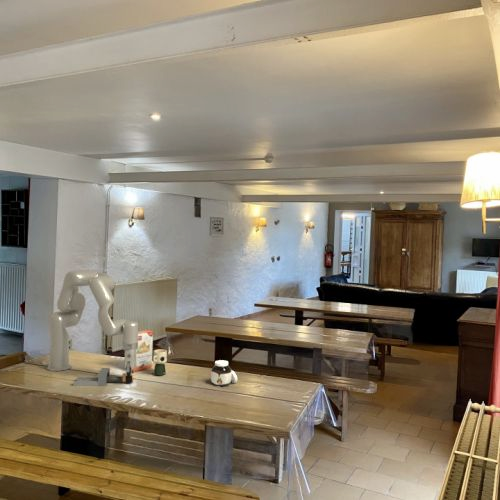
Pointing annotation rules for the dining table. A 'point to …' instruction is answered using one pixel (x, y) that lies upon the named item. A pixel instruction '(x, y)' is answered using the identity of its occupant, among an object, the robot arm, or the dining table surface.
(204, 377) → the dining table surface
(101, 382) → the tunnel block
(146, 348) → the cracker box
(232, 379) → the spread jar
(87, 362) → the dining table surface
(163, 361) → the character mug
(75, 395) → the dining table surface
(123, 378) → the grey and orange rod
